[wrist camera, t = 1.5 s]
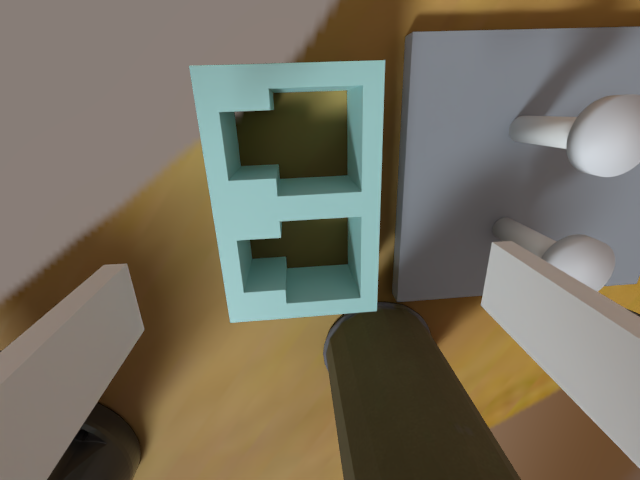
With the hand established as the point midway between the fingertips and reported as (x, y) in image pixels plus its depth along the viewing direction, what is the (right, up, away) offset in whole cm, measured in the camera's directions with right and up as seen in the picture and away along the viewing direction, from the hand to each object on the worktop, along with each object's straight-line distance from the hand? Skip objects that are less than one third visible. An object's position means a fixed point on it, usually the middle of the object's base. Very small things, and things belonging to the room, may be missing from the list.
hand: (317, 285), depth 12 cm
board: (+17, +7, +15) cm, 24 cm away
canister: (+6, -9, +20) cm, 23 cm away
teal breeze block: (-2, +6, +14) cm, 15 cm away
